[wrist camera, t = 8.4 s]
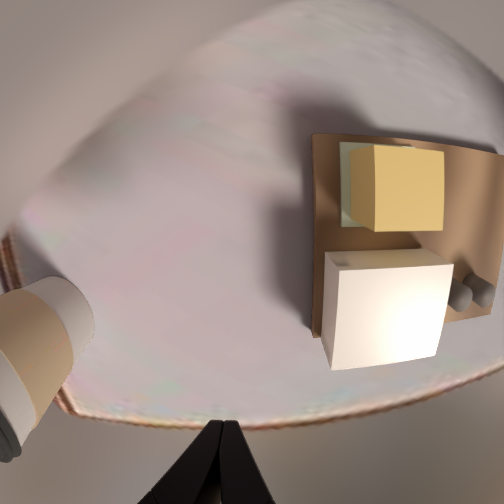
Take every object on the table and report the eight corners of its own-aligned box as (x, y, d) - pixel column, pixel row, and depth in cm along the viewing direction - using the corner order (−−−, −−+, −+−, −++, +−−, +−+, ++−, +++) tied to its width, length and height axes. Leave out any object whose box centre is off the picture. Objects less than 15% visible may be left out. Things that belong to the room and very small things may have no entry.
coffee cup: (12, 283, 20) (-103, 357, 6) (70, 244, 19) (-92, 332, 5) (60, 366, 22) (-26, 469, 8) (126, 347, 21) (28, 494, 7)
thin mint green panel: (413, 147, 16) (415, 147, 16) (412, 225, 17) (414, 226, 17) (339, 142, 16) (340, 141, 16) (340, 226, 17) (341, 226, 17)
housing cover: (424, 248, 17) (453, 264, 14) (412, 329, 19) (434, 355, 15) (324, 251, 18) (339, 270, 14) (320, 338, 19) (331, 370, 16)
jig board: (499, 156, 16) (527, 157, 13) (483, 309, 20) (505, 326, 16) (311, 135, 17) (321, 127, 14) (310, 330, 20) (318, 357, 17)
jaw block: (409, 154, 16) (443, 151, 12) (409, 218, 17) (442, 230, 13) (349, 150, 16) (374, 145, 12) (350, 218, 17) (374, 231, 13)
